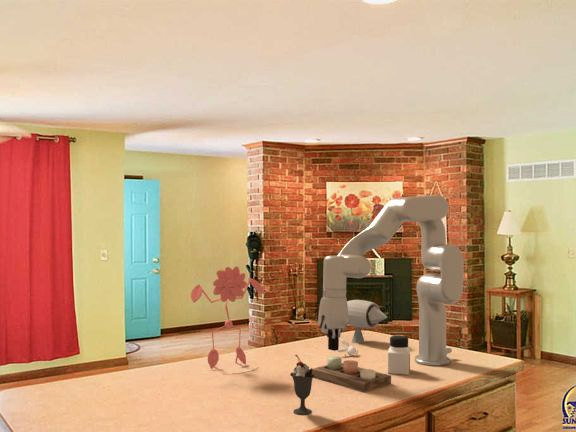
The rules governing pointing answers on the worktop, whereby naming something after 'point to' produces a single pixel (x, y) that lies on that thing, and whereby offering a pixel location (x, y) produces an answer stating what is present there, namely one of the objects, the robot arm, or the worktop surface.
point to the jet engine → (363, 317)
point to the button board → (351, 379)
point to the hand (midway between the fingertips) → (333, 349)
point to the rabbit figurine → (350, 349)
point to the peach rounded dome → (350, 367)
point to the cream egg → (367, 374)
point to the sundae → (302, 385)
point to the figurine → (230, 289)
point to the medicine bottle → (399, 355)
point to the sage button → (334, 363)
